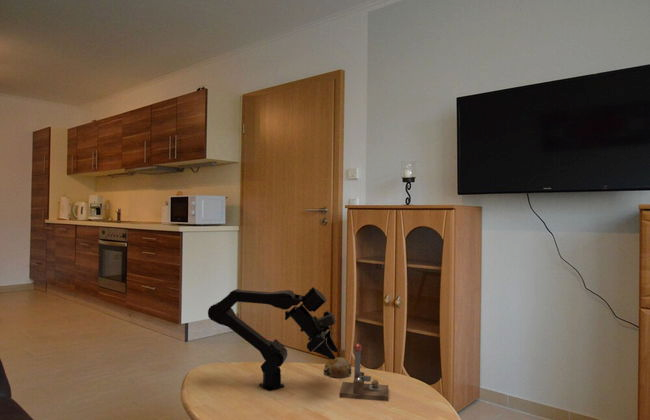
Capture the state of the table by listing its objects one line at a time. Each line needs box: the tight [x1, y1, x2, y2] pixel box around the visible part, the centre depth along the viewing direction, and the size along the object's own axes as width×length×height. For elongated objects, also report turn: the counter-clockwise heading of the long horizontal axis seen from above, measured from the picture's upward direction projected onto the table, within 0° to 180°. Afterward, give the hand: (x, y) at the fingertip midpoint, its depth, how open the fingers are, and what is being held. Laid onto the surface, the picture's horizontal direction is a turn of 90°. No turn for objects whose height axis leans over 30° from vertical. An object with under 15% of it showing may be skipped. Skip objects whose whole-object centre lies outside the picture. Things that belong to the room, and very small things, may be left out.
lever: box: [353, 342, 372, 383], centre depth 155 cm, size 6×6×13 cm
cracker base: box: [339, 371, 389, 402], centre depth 155 cm, size 16×10×6 cm, turn 82°
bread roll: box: [323, 356, 352, 379], centre depth 173 cm, size 10×10×8 cm
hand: (335, 355), depth 157 cm, fingers open, 8 cm apart
